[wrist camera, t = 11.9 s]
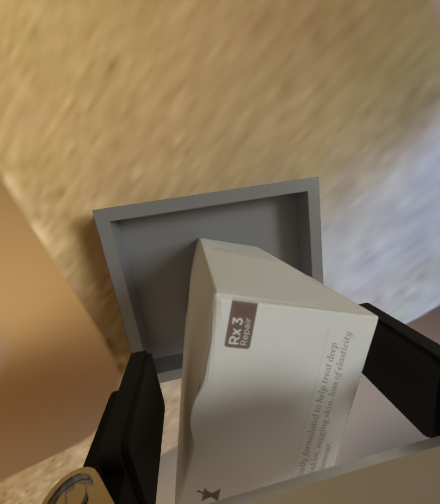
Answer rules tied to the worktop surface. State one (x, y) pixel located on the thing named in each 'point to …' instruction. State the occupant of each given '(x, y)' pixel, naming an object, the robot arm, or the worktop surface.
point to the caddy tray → (183, 249)
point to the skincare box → (262, 373)
